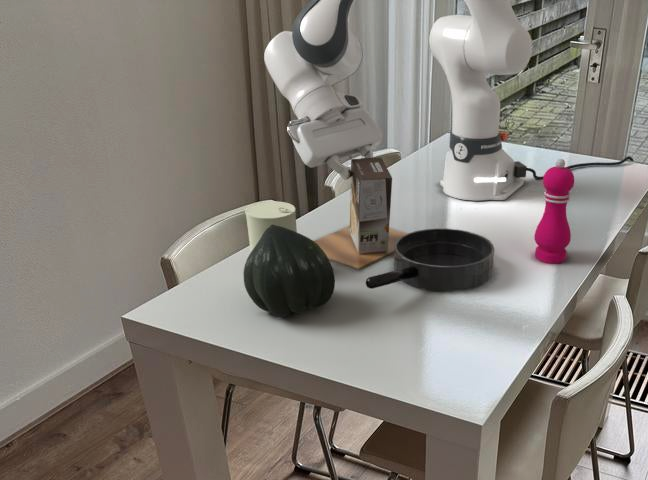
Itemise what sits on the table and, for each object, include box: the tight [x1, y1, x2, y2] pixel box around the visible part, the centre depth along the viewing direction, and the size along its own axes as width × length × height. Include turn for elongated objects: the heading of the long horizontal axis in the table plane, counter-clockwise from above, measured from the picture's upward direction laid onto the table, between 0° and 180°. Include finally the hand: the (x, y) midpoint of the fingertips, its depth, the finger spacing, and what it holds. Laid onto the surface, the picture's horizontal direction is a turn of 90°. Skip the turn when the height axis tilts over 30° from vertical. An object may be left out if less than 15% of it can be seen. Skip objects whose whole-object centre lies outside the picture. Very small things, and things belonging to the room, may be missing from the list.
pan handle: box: [365, 266, 418, 290], centre depth 136 cm, size 14×2×4 cm, turn 145°
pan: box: [393, 228, 496, 292], centre depth 147 cm, size 19×19×5 cm
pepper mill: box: [533, 158, 575, 265], centre depth 150 cm, size 7×7×20 cm
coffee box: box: [349, 157, 393, 254], centre depth 152 cm, size 9×6×16 cm
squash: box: [243, 224, 336, 317], centre depth 131 cm, size 14×15×15 cm
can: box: [244, 200, 298, 253], centre depth 144 cm, size 9×9×12 cm
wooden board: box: [313, 225, 407, 271], centre depth 159 cm, size 20×16×1 cm
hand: (361, 173), depth 150 cm, fingers closed on coffee box, 6 cm apart
